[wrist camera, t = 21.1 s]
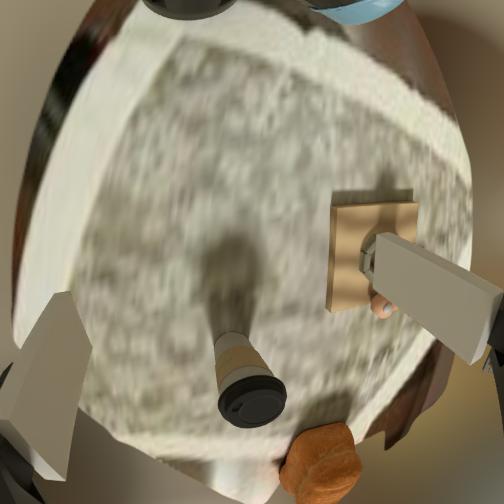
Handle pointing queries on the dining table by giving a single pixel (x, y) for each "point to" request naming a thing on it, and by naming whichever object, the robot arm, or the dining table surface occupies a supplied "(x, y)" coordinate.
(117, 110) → the dining table surface
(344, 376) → the dining table surface
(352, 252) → the stool seat
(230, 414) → the coffee cup
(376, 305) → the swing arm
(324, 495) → the bread
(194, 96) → the dining table surface
